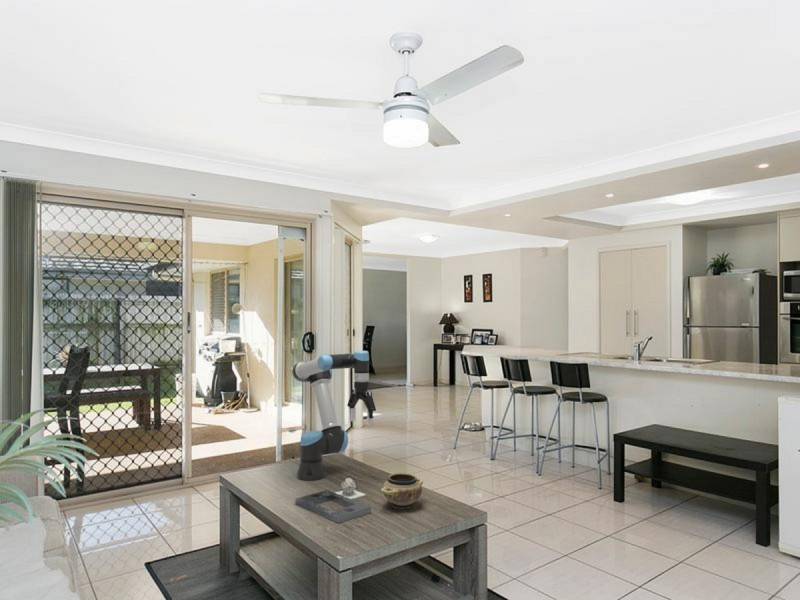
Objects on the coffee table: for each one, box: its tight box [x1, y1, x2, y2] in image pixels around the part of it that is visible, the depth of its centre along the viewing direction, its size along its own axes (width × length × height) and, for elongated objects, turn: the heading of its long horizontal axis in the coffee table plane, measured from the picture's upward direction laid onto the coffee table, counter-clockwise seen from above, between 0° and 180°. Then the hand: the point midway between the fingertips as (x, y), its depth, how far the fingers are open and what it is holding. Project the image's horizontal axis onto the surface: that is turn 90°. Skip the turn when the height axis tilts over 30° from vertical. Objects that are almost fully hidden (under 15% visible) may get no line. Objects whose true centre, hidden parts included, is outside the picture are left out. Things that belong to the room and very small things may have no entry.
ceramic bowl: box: [380, 472, 424, 510], centre depth 246 cm, size 24×18×15 cm
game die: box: [339, 477, 359, 496], centre depth 260 cm, size 9×8×10 cm
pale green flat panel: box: [335, 489, 366, 500], centre depth 259 cm, size 12×12×1 cm
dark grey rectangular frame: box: [294, 489, 372, 524], centre depth 242 cm, size 32×18×3 cm, turn 44°
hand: (361, 422), depth 276 cm, fingers open, 13 cm apart
